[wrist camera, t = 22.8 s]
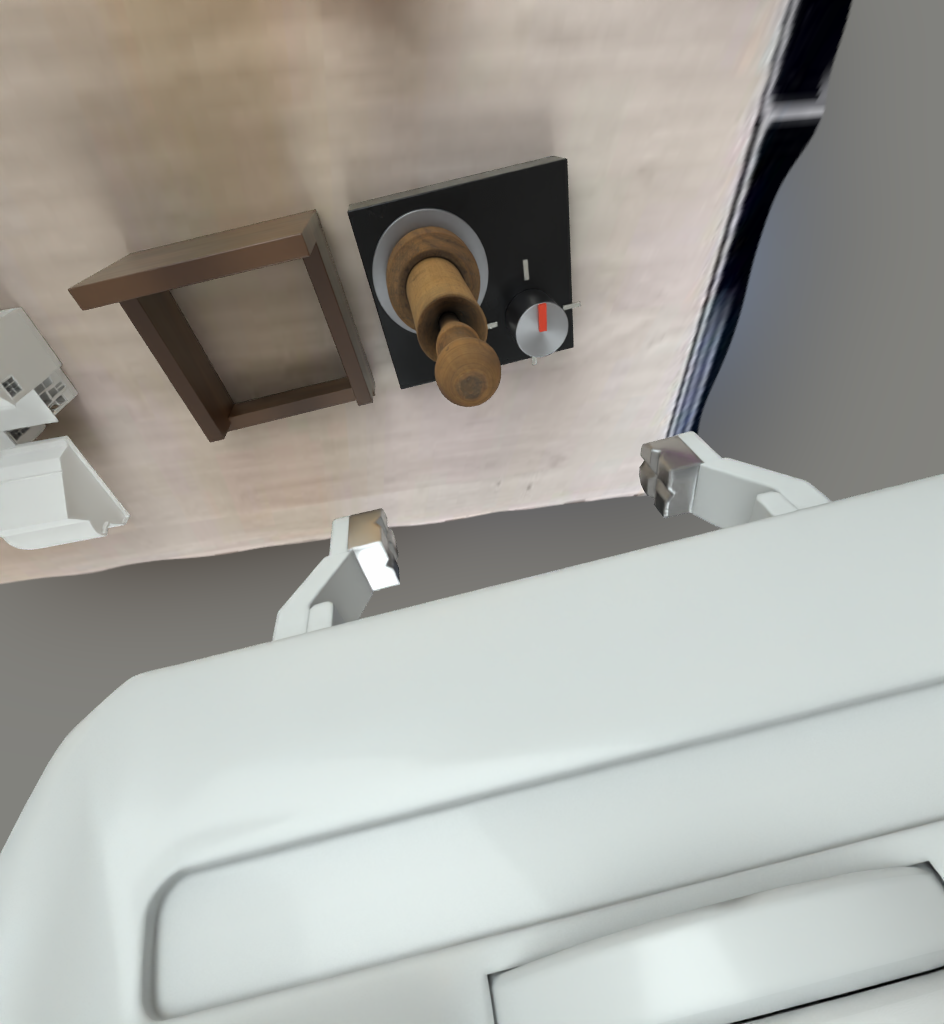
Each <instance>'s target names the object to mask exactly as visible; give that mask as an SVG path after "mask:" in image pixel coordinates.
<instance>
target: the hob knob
mask: <svg viewBox="0 0 944 1024" xmlns="http://www.w3.org/2000/svg"><path fill="white" fill-rule="evenodd" d="M506 326H507V328H508V331H509V332H510V334H511V335H512V337H513V338H514V340H515V341H516V343H517V344H518V346H519V348H520V349H521V350H522V351H523V352H524V353H525V354H527V355H529V356H532V357H544V356H547V355H550V354H552V353H553V352H555V351H556V350H557V349H558V348H559V347H560V346H561V345H562V343H563V342H564V340H565V338H566V336H567V332H568V319H567V316H566V314H565V312H564V310H563V309H562V308H561V307H560V306H559V305H558V304H557V303H556V302H555V301H554V300H553V299H552V298H551V297H550V296H549V295H548V294H546V293H545V292H543V291H541V290H538V289H529V290H525V291H523V292H521V293H519V294H518V295H516V296H515V297H514V298H513V300H512V301H511V302H510V304H509V306H508V308H507V311H506Z"/></svg>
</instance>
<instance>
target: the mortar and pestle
mask: <svg viewBox="0 0 944 1024" xmlns="http://www.w3.org/2000/svg"><path fill="white" fill-rule="evenodd" d="M386 284H387V290H388V295H389V299H390V302H391V305H392V307H393V309H394V311H395V312H396V314H397V315H398V317H399V318H400V319H401V320H402V321H403V322H404V323H405V324H406V325H407V326H409V327H410V328H412V329H413V330H415V331H416V333H417V338H418V341H419V344H420V346H421V348H422V350H423V351H424V353H425V354H426V355H427V356H428V357H429V358H430V359H432V360H433V361H435V362H436V364H435V379H436V382H437V385H438V387H439V389H440V391H441V393H442V394H443V395H444V396H445V397H446V398H447V399H448V400H449V401H451V402H452V403H454V404H456V405H459V406H464V407H472V406H477V405H480V404H482V403H484V402H486V401H487V400H488V399H489V398H491V396H492V395H493V394H494V393H495V391H496V390H497V388H498V385H499V383H500V379H501V365H500V361H499V358H498V356H497V354H496V352H495V351H494V350H493V348H492V347H491V346H490V345H489V344H487V343H486V339H487V333H488V326H487V321H486V317H485V315H484V313H483V311H482V309H481V307H480V306H479V304H478V303H477V301H478V298H479V293H480V273H479V268H478V265H477V262H476V260H475V258H474V256H473V254H472V253H471V251H470V250H469V248H468V247H467V245H466V244H465V243H464V242H463V241H462V240H461V239H460V238H459V237H458V236H457V235H456V234H454V233H453V232H451V231H449V230H447V229H444V228H441V227H434V226H428V227H422V228H418V229H415V230H413V231H411V232H409V233H408V234H406V235H405V236H404V237H403V238H401V239H400V240H399V242H398V243H397V244H396V245H395V247H394V248H393V250H392V252H391V254H390V257H389V260H388V263H387V269H386Z"/></svg>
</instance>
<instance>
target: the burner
mask: <svg viewBox="0 0 944 1024" xmlns="http://www.w3.org/2000/svg"><path fill="white" fill-rule="evenodd" d="M428 226H434V227H441V228H444V229H447V230H449V231H451V232H453V233H454V234H456V235H457V236H458V237H459V238H460V239H461V240H462V241H463V242H464V243H465V244H466V245H467V247H468V248H469V250H470V251H471V253H472V254H473V256H474V258H475V260H476V262H477V265H478V268H479V273H480V293H479V298H478V301H477V303H478V304H479V306H480V305H481V303H482V301H483V299H484V296H485V293H486V289H487V284H488V262H487V257H486V253H485V250H484V247H483V245H482V243H481V241H480V239H479V238H478V236H477V235H476V233H475V232H474V231H473V229H472V228H471V227H470V226H469V225H468V224H467V223H466V222H465V221H464V220H462V219H461V218H459V217H458V216H456V215H454V214H452V213H450V212H448V211H445V210H441V209H436V208H422V209H416V210H413V211H410V212H408V213H406V214H404V215H402V216H400V217H399V218H397V219H396V220H395V221H393V222H392V223H391V224H390V225H389V226H388V228H387V229H386V230H385V231H384V233H383V234H382V236H381V238H380V239H379V241H378V244H377V246H376V249H375V253H374V256H373V264H372V277H373V284H374V288H375V292H376V295H377V298H378V300H379V302H380V304H381V306H382V307H383V309H384V310H385V312H386V313H387V314H388V315H389V317H390V318H391V319H392V320H394V321H395V322H396V323H397V324H398V325H400V326H401V327H403V328H404V329H406V330H408V331H411V332H413V333H416V331H415V330H413V329H412V328H410V327H409V326H407V325H406V324H405V323H404V322H403V321H402V320H401V319H400V318H399V317H398V315H397V314H396V312H395V311H394V309H393V307H392V305H391V302H390V299H389V295H388V290H387V284H386V269H387V263H388V260H389V257H390V254H391V252H392V250H393V248H394V247H395V245H396V244H397V243H398V242H399V240H400V239H401V238H403V237H404V236H405V235H406V234H408V233H409V232H411V231H413V230H415V229H418V228H422V227H428ZM416 334H417V333H416Z"/></svg>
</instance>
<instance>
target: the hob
mask: <svg viewBox="0 0 944 1024" xmlns="http://www.w3.org/2000/svg"><path fill="white" fill-rule="evenodd" d="M422 208H436V209H441V210H445V211H448V212H450V213H452V214H454V215H456V216H458V217H459V218H461V219H462V220H464V221H465V222H466V223H467V224H468V225H469V226H470V227H471V228H472V229H473V231H474V232H475V233H476V235H477V236H478V238H479V239H480V241H481V243H482V245H483V247H484V250H485V253H486V257H487V262H488V284H487V289H486V293H485V296H484V299H483V301H482V303H481V305H480V307H481V309H482V311H483V313H484V315H485V317H486V321H487V326H488V333H487V339H486V343H487V344H489V345H490V346H491V347H492V348H493V350H494V351H495V352H496V354H497V356H498V358H499V361H500V365H503V364H507V363H511V362H515V361H519V360H524V359H528V358H532V365H536V364H537V360H536V357H532V356H529V355H527V354H525V353H524V352H523V351H522V350H521V349H520V348H519V346H518V344H517V343H516V341H515V340H514V338H513V337H512V335H511V334H510V332H509V331H508V328H507V326H506V311H507V308H508V306H509V304H510V302H511V301H512V300H513V298H514V297H515V296H516V295H518V294H519V293H521V292H523V291H525V290H529V289H538V290H541V291H543V292H545V293H546V294H548V295H549V296H550V297H551V298H552V299H553V300H554V301H555V302H556V303H557V304H558V305H559V306H560V307H561V308H562V309H563V310H564V312H565V314H566V316H567V319H568V332H567V336H566V338H565V340H564V342H563V343H562V345H561V346H560V347H559V348H558V349H557V350H556V351H560V350H564V349H569V348H573V346H574V345H573V315H572V308H575V307H579V306H580V301H578V302H574V303H572V286H571V256H570V226H569V197H568V167H567V159H566V158H561V157H556V156H550V157H546V158H542V159H538V160H534V161H530V162H525V163H521V164H517V165H513V166H509V167H505V168H500V169H496V170H492V171H488V172H484V173H480V174H475V175H471V176H467V177H463V178H459V179H455V180H450V181H446V182H442V183H438V184H434V185H430V186H425V187H421V188H417V189H413V190H409V191H405V192H400V193H396V194H392V195H388V196H384V197H380V198H375V199H371V200H367V201H363V202H359V203H355V204H350V205H349V208H348V216H349V219H350V222H351V226H352V229H353V232H354V236H355V239H356V242H357V246H358V249H359V252H360V255H361V259H362V262H363V265H364V269H365V272H366V275H367V279H368V282H369V285H370V288H371V292H372V295H373V298H374V302H375V305H376V308H377V312H378V315H379V318H380V322H381V325H382V328H383V331H384V335H385V338H386V341H387V345H388V348H389V351H390V355H391V358H392V361H393V364H394V368H395V371H396V374H397V378H398V381H399V384H400V388H401V389H405V388H409V387H413V386H417V385H421V384H425V383H429V382H434V381H436V379H435V364H436V362H435V361H433V360H432V359H430V358H429V357H428V356H427V355H426V354H425V353H424V351H423V350H422V348H421V346H420V344H419V341H418V338H417V334H416V333H413V332H411V331H408V330H406V329H404V328H403V327H401V326H400V325H398V324H397V323H396V322H395V321H394V320H392V319H391V318H390V317H389V315H388V314H387V313H386V312H385V310H384V309H383V307H382V306H381V304H380V302H379V300H378V298H377V295H376V292H375V288H374V284H373V277H372V264H373V256H374V253H375V249H376V246H377V244H378V241H379V239H380V238H381V236H382V234H383V233H384V231H385V230H386V229H387V228H388V226H389V225H390V224H391V223H392V222H393V221H395V220H396V219H397V218H399V217H400V216H402V215H404V214H406V213H408V212H410V211H413V210H416V209H422ZM556 351H555V352H556Z"/></svg>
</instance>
